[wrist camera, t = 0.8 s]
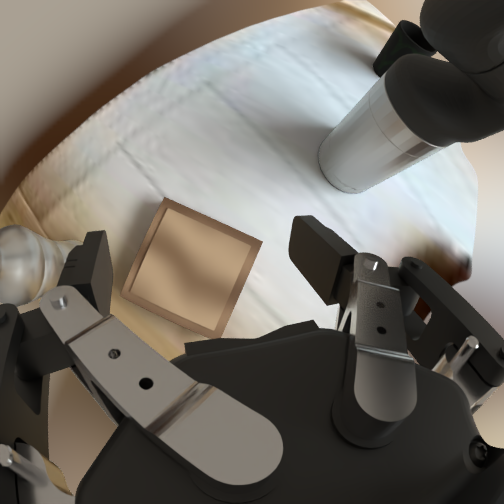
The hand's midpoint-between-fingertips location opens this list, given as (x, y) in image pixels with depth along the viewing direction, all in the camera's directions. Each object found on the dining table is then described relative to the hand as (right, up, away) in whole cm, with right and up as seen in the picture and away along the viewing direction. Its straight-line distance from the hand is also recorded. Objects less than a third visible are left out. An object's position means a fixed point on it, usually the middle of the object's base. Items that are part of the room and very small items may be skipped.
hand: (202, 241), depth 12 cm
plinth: (-5, -2, +22) cm, 22 cm away
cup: (+27, +33, +30) cm, 52 cm away
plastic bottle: (-19, -3, +20) cm, 28 cm away
